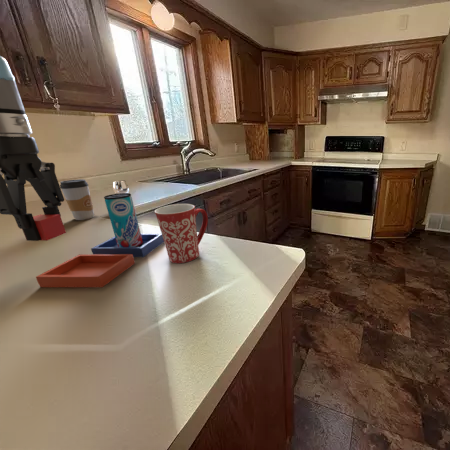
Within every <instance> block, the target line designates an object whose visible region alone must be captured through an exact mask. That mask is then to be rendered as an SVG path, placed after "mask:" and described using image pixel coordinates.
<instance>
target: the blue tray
mask: <svg viewBox="0 0 450 450" xmlns="http://www.w3.org/2000/svg"><path fill="white" fill-rule="evenodd" d="M141 237H142V241H143V244H142V245H141V246H140V247H118V245H117V241H116V238H115V236H113V237H111V238H108V239H107V240H105V241H103V242H101V243H99V244H97V245H94V246H93V247H91V248H90V250H91V254H133V258H145V257H146V256H147V255H149V254H150V253H151V252H153V251H155V250H156V249H157V248H159V247H160V246H161V245H163V244H164V240H163V236H162V233H141Z"/></svg>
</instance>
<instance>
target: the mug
mask: <svg viewBox="0 0 450 450" xmlns="http://www.w3.org/2000/svg"><path fill="white" fill-rule="evenodd" d="M199 213H201V216H202V223H201V225H200V226H201V227H200V229H199V231H198V230H197V220H196V218H197V216H198V215H199ZM154 214H155V216H156V219H157V222H158V226H159V229H160V232H161V233H160V234H162V236H163V240H164V242H163V244H164V245H165V251H166V253H167V256H168V259H169V262H171V263H172V264H185V263H189V262H192V261H194V260H196V259H197V258H198V257H199V256H200V248H199V245H200V243H201V241H202V239H203V238H204V235H205V232H206V231H207V227H208V224H209V223H208V222H209V218H208V217H209V216H208V212H207V211H206V210H205V209H203V208H196V206H195V205H194V204H191V203H174V204H169V205H163V206H161V207H158V208H156V209H154Z"/></svg>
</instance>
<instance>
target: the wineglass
mask: <svg viewBox="0 0 450 450" xmlns="http://www.w3.org/2000/svg"><path fill="white" fill-rule="evenodd" d="M112 190H113V192H114V194H119V193H129V192H130V189H129V185H128V182H127V181H126V180H122V179H121V180H114V181H112Z"/></svg>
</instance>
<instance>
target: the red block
mask: <svg viewBox="0 0 450 450" xmlns="http://www.w3.org/2000/svg"><path fill="white" fill-rule="evenodd" d="M60 215H61V214H60ZM60 215H59V214H44V213H41V214H36V215H32V216H33V218H34V221H35V224H36V226H37V229H38V231H39V234H40V237H41V239H42V240H39V241H42V242H43V241H50V240H52V239H55V238H57V237H60V236H62V235H66V234H67V231H66V227H65V225H64V222H63V220H62V216H61V217H60ZM21 230H22V232H23V235H24V237H25V240H26V241H27V239H26V236H25V234H24V231H23V229H21ZM39 241H38V242H39Z"/></svg>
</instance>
